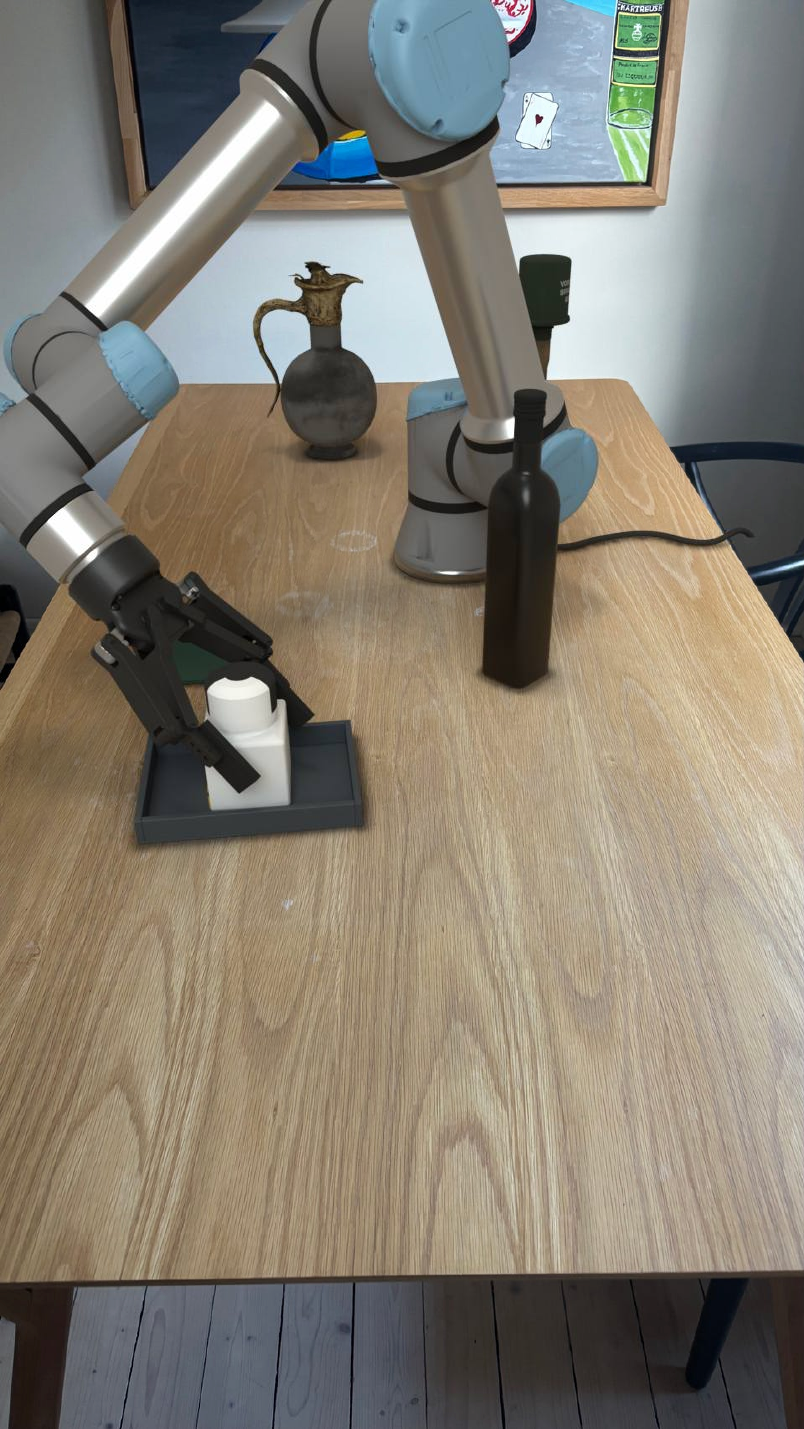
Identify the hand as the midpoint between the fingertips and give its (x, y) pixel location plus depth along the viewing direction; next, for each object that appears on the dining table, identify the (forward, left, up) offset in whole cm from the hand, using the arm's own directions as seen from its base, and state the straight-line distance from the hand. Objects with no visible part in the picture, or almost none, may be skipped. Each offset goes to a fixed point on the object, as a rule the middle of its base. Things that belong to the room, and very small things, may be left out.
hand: (278, 752), depth 90 cm
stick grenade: (-43, -89, -5) cm, 99 cm away
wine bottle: (-25, -19, -5) cm, 32 cm away
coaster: (+9, -27, -5) cm, 28 cm away
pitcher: (-8, -94, -5) cm, 94 cm away
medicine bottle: (+3, -2, -5) cm, 6 cm away
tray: (+3, -2, -5) cm, 6 cm away
